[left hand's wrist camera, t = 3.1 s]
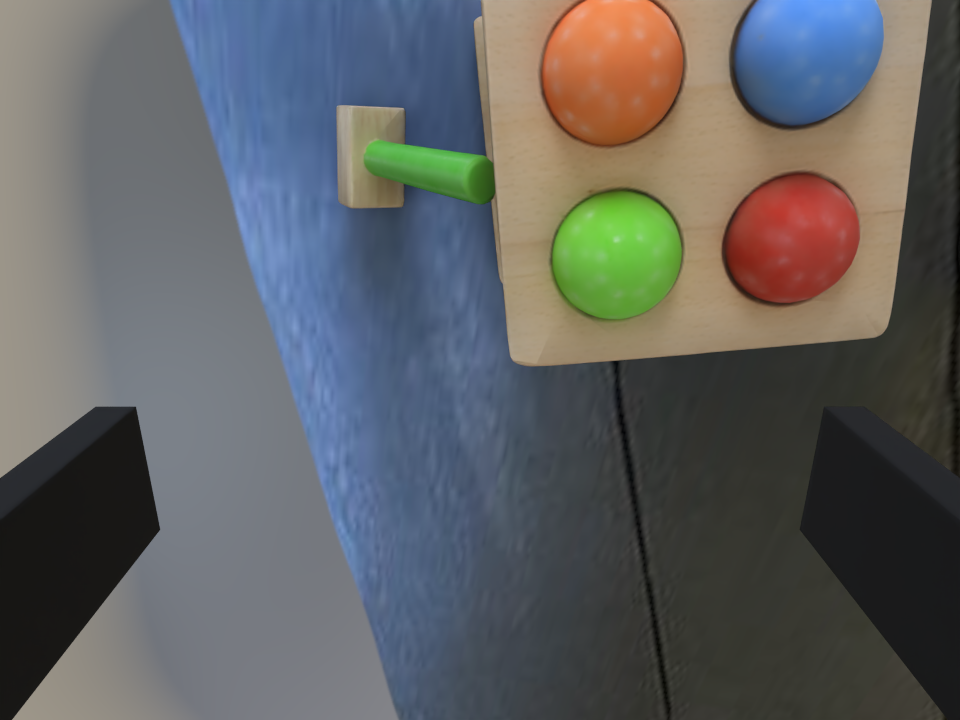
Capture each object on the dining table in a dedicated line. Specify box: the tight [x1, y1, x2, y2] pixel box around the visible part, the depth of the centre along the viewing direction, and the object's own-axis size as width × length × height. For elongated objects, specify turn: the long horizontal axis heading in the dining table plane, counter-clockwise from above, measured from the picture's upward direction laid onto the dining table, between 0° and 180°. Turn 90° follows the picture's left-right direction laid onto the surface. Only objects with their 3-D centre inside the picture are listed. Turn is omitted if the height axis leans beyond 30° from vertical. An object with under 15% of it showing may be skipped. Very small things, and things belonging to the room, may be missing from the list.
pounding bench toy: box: [337, 0, 932, 366], centre depth 29 cm, size 23×14×18 cm, turn 95°
